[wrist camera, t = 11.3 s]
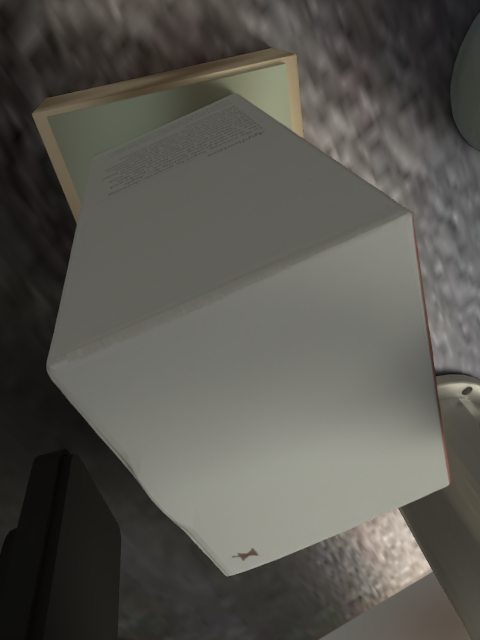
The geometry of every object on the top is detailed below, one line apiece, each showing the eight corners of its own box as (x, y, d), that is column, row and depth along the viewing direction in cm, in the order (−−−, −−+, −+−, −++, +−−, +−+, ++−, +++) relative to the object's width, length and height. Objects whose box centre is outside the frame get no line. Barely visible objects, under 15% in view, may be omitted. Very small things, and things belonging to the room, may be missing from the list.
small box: (296, 259, 22) (457, 491, 11) (175, 312, 22) (224, 587, 12) (238, 84, 17) (421, 204, 7) (85, 154, 17) (27, 378, 7)
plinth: (271, 47, 20) (297, 54, 17) (294, 249, 26) (316, 281, 23) (45, 98, 19) (30, 114, 16) (120, 294, 25) (120, 332, 22)
